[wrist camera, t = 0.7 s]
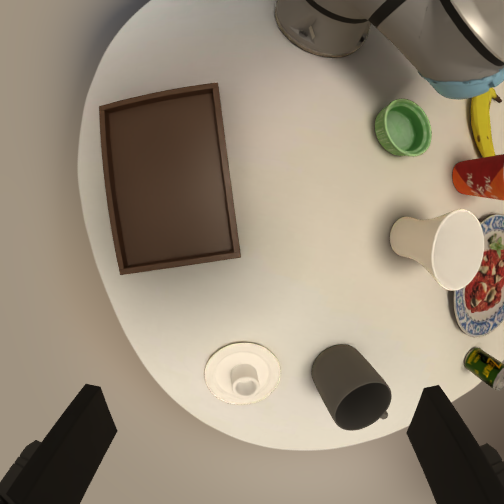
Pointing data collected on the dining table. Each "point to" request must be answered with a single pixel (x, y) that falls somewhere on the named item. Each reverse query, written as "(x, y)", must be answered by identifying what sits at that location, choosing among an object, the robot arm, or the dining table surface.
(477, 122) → the banana
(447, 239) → the cup
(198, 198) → the tray
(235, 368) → the candle holder
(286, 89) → the dining table surface
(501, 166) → the coffee cup
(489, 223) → the ceramic plate
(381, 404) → the mug
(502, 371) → the green soda can
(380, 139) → the ramekin
